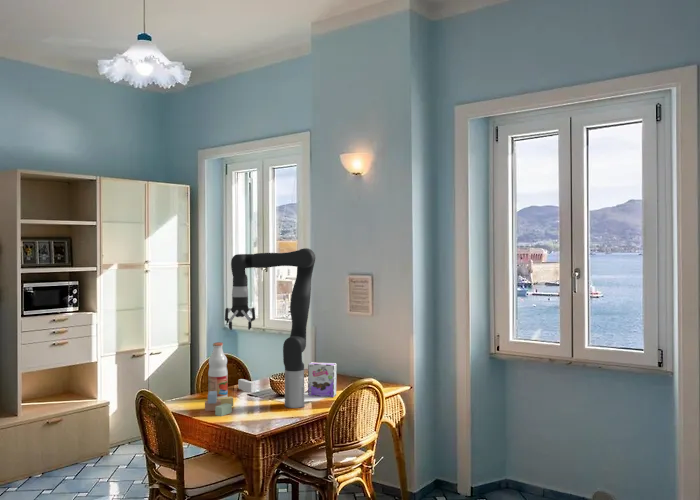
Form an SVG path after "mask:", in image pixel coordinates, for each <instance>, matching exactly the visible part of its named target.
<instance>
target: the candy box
mask: <svg viewBox="0 0 700 500" xmlns="http://www.w3.org/2000/svg"><path fill="white" fill-rule="evenodd" d="M307 365H308V366H307V369H308V370H307V371H308V372H307V395H309V396H310V397H322V398H334V397H336V396H337V366H338V365H337V363H336V362H319V361H318V362H316V361H310V362H309V363H308V364H307Z"/></svg>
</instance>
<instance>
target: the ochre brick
mask: <svg viewBox="0 0 700 500" xmlns="http://www.w3.org/2000/svg"><path fill="white" fill-rule="evenodd" d="M217 400H221V405H222V404H224V403H228V404H232V407H234V397H233V396H228V397H220V398H217Z"/></svg>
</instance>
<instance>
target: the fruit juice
mask: <svg viewBox="0 0 700 500" xmlns="http://www.w3.org/2000/svg"><path fill="white" fill-rule="evenodd" d="M212 347H213V350H212V353H211V354H210V356H209V358H208V365H209V366H208V367H209V368H208V373H207V375H208V377H207V378H208V379H207V381H208V382H207V383H208V389H207V390H208V392H207V394H208V393H209V391H217V398H220V397H229V396H228V394H229V393H228V390H229V389H228V387H229V386H228V384H229V383H228V380H229V379H228V375H229V374H228V373H229V372H228V367H227V365H228V358H227V356H226V355H225V352H224V350H223V347H224V343H223V342H219V341H218V342H213V343H212Z"/></svg>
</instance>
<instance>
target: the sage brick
mask: <svg viewBox="0 0 700 500" xmlns="http://www.w3.org/2000/svg"><path fill="white" fill-rule="evenodd" d="M232 407H233V406H232V404H228V403H224V404H222V405H219V406H216V407H215V410H214V412H215V413H214V415H215V416H218V417H224V416H226V415H228V414H231V413H232V412H233V411H232V410H233V408H232Z"/></svg>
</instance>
